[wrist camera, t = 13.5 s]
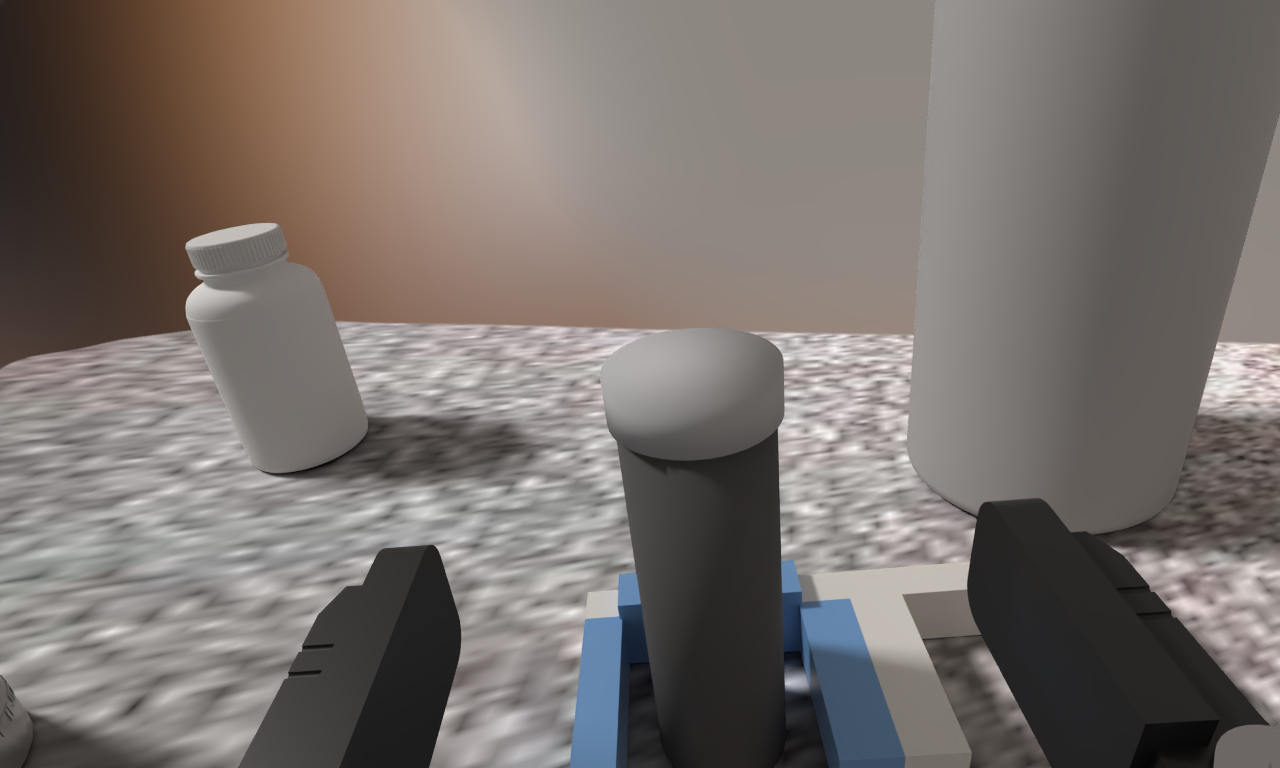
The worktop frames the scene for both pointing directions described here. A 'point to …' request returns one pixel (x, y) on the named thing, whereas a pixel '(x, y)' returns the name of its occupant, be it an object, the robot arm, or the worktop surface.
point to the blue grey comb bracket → (812, 664)
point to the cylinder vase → (1081, 242)
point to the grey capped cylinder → (706, 535)
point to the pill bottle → (273, 350)
